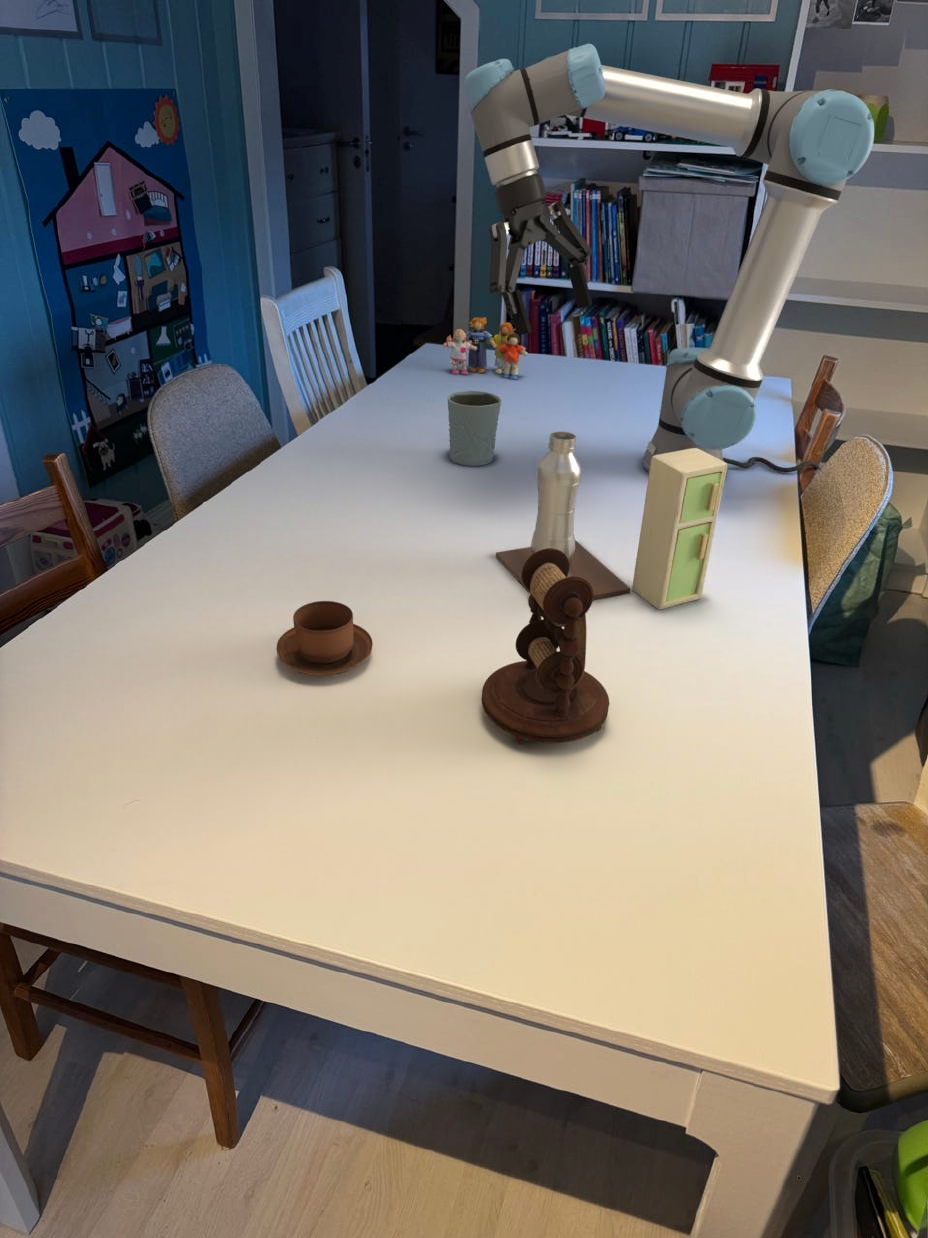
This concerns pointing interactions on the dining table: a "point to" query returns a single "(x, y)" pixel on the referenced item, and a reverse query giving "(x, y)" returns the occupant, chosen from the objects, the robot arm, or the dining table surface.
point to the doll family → (502, 343)
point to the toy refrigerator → (678, 526)
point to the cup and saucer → (324, 640)
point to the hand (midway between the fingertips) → (555, 320)
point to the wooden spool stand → (549, 661)
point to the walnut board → (571, 570)
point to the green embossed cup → (472, 426)
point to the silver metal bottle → (557, 495)
